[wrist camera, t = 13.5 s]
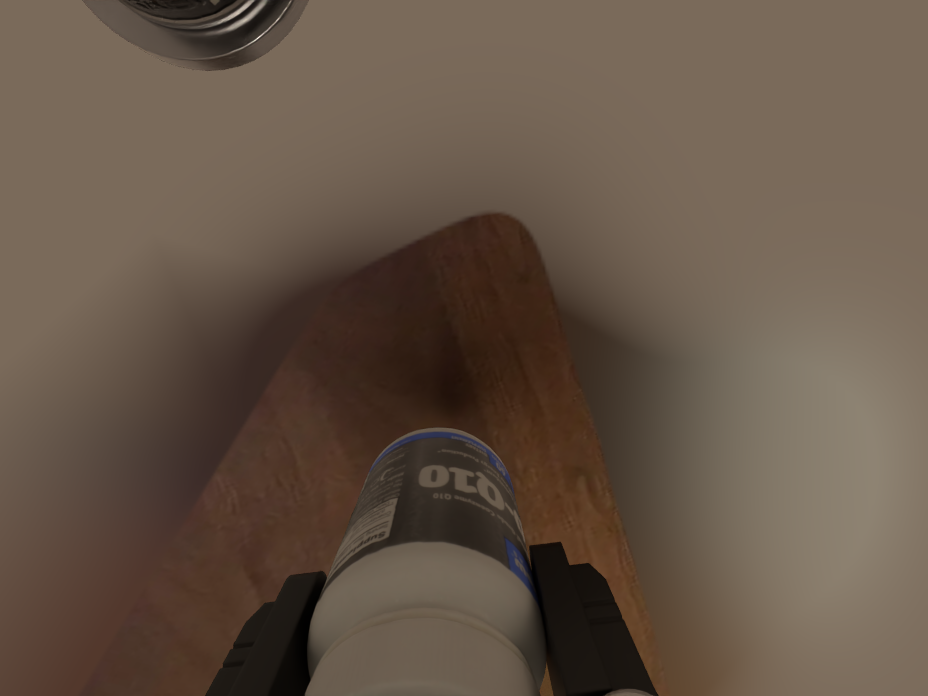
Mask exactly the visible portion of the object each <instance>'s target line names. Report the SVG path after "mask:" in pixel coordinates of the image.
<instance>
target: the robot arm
mask: <svg viewBox="0 0 928 696" xmlns="http://www.w3.org/2000/svg"><path fill="white" fill-rule="evenodd" d="M118 1H119V2H121V3H122V4H123V5H125V6H126V7H127V8H129V9H130V10H132V11H133V12H135V13H136V14H138V15H140V16H141V17H143V18H145V19H147V20H150V21H152V22H154V23H157V24H160V25H163V26H167V27H171V28H177V29H203V28H208V27H213V26H216V25H219V24H222V23H224V22H226V21H228V20H230V19H232V18H234V17H235V16H237V15H239V14H240V13H241V12H242V11H244V10H245V9H246V8H247V7H248V6H249V5H250V4H252V3H253V2H254V0H118ZM529 551H530V560H531V569H532V574H533V579H534V582H535V586H536V590H537V594H538V599H539V603H540V607H541V611H542V615H543V621H544V626H545V633H546V641H547V660H546V662H547V666H548V671H549V676H550V680H551V685H552V690H553V694H554V696H658V694H657V692H656V690H655V688H654V687H653V684H652V682H651V680H650V678H649V675H648V673H647V671H646V669H645V666H644V664H643V662H642V660H641V657H640V655H639V653H638V651H637V648H636V646H635V644H634V642H633V639H632V637H631V635H630V633H629V630H628V628H627V626H626V624H625V621H624V620H623V619H622V615H621V612H620V610H619V608H618V606H617V604H616V603H615V600H614V597H613V595H612V592H611V590H610V588H609V586H608V583H607V581H606V579H605V578H604V577H603V576H602V575H601V574H600V573H599V572H598V571H597V570H596V569H595V568H593V567H592V566H591V565H590V564H589V563H585V564H577V565H569V563H568V560H567V557H566V554H565V551H564V549H563V546H562V543H561V542H555V543H547V544H539V545H531V546H529ZM326 580H327V577H326V574H325V573H324V572H323V571H319V572H312V573H304V574H296V575H290V576H289V577H288V578H287V579H286V581H285V583H284V585H283V587H282V589H281V591H280V593H279V595H278V597H277V599H276V601H275V602H268V603H264V605H263V606H262V607H261V608H260V609H259V610H258V611H257V612H256V613H255V614H254V615H253V616H252V617H251V618H250V619H249V620H248V621H247V622H246V623H245V625H244V627H243V628H242V630H241V632H240V634H239V636H238V637H237V639H236V641H235V643H234V645H233V649H231V650H230V652H229V654H228V655H227V657H226V659H225V661H224V663H223V668H221V669H220V670H219V672H218V673H217V675H216V677H215V679H214V681H213V682H212V684H211V686H210V688H209V690H208V691H207V693H206V695H205V696H305V693H306V690H307V687H308V685H309V683H310V681H311V679H310V675H309V670H308V662H307V642H308V634H309V628H310V623H311V619H312V616H313V613H314V610H315V607H316V604H317V602H318V600H319V598H320V595H321V593H322V590H323V588H324V585H325V583H326Z"/></svg>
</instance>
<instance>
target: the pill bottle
mask: <svg viewBox="0 0 928 696" xmlns="http://www.w3.org/2000/svg"><path fill="white" fill-rule="evenodd" d="M546 660H547V641H546V633H545V626H544V621H543V615H542V611H541V607H540V603H539V599H538V594H537V590H536V586H535V582H534V579H533V574H532V570H531V566H530V562H529V558H528V553H527V549H526V544H525V538H524V534H523V530H522V525H521V521H520V516H519V513H518V508H517V504H516V500H515V495H514V491H513V486H512V483H511V480H510V477H509V474H508V472H507V470H506V468H505V466H504V464H503V463H502V461H501V459H500V458H499V457H498V456H497V455H496V453H495V452H494V451H493V450H492V449H491V448H490V447H489V446H487V445H486V444H485V443H484V442H482V441H481V440H479V439H478V438H476V437H474V436H472V435H470V434H468V433H466V432H464V431H461V430H457V429H451V428H427V429H421V430H417V431H414V432H411V433H408V434H406V435H404V436H402V437H400V438H398V439H397V440H395V441H394V442H393V443H391V444H390V445H389V446H388V447H387V448H385V449H384V451H383V452H382V453H381V454H380V455H379V456H378V458H377V459H376V460H375V462H374V463H373V465H372V467H371V469H370V471H369V473H368V476H367V478H366V481H365V483H364V486H363V488H362V491H361V493H360V496H359V498H358V502H357V504H356V506H355V509H354V511H353V513H352V516H351V519H350V521H349V524H348V527H347V529H346V532H345V535H344V537H343V540H342V542H341V545H340V547H339V549H338V552H337V555H336V557H335V560H334V562H333V565H332V567H331V570H330V572H329V575H328V577H327V580H326V583H325V585H324V588H323V590H322V593H321V595H320V598H319V600H318V602H317V604H316V607H315V610H314V613H313V616H312V619H311V623H310V628H309V634H308V642H307V662H308V670H309V675H310V679H311V681H310V683H309V685H308V687H307V690H306V693H305V696H540V692H539V690H540V687H541V684H542V681H543V678H544V675H545V668H546Z"/></svg>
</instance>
